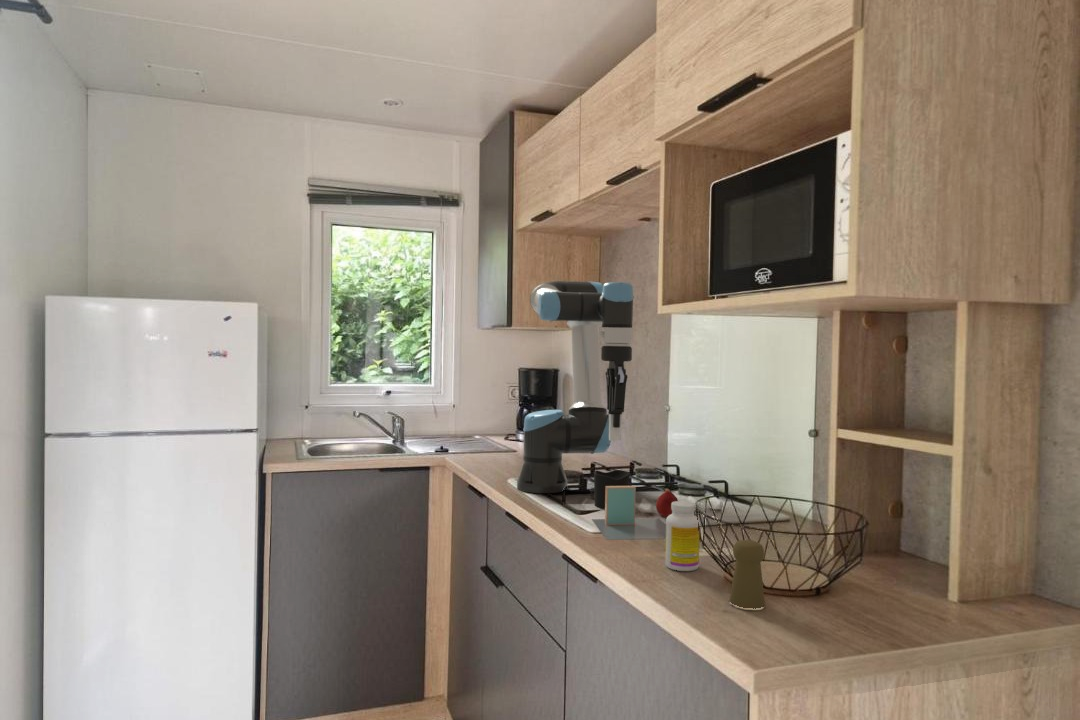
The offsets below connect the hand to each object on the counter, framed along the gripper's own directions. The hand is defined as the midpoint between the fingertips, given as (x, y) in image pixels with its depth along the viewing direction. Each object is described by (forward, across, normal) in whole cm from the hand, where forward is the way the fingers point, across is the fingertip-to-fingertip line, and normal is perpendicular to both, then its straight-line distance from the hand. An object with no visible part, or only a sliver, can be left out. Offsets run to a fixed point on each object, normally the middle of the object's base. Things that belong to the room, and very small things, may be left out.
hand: (614, 440), depth 174 cm
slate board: (+20, +11, +2) cm, 23 cm away
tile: (+19, +7, 0) cm, 20 cm away
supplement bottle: (+21, +35, +6) cm, 41 cm away
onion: (+21, 0, +14) cm, 25 cm away
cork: (+21, +55, +11) cm, 60 cm away
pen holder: (+21, -11, +2) cm, 23 cm away
